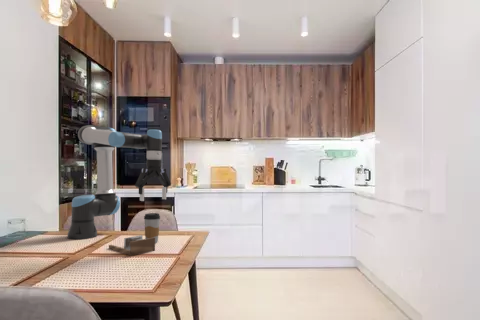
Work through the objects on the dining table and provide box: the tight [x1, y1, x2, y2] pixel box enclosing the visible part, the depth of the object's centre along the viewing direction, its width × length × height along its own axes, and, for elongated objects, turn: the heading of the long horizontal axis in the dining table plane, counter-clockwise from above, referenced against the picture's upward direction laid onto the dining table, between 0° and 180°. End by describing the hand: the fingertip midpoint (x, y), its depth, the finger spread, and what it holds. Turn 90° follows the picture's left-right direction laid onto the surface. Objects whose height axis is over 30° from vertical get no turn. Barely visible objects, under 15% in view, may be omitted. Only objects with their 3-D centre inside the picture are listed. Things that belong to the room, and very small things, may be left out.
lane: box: [108, 237, 156, 256], centre depth 155 cm, size 20×12×6 cm, turn 51°
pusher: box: [123, 235, 143, 250], centre depth 153 cm, size 4×9×6 cm, turn 140°
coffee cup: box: [143, 212, 161, 244], centre depth 170 cm, size 8×8×15 cm
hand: (153, 200), depth 167 cm, fingers open, 13 cm apart
